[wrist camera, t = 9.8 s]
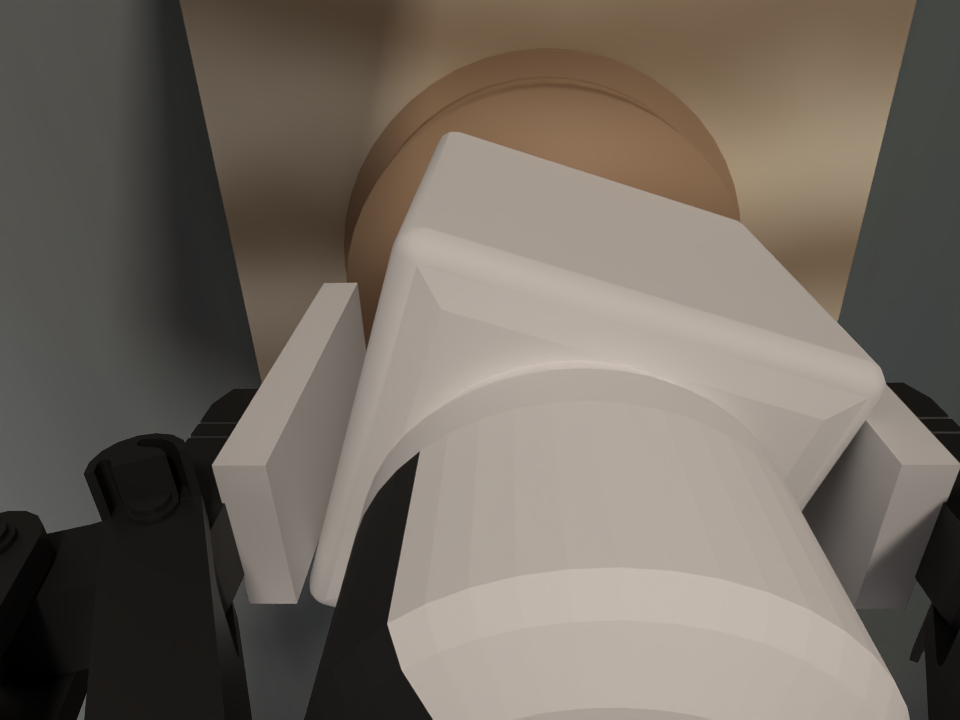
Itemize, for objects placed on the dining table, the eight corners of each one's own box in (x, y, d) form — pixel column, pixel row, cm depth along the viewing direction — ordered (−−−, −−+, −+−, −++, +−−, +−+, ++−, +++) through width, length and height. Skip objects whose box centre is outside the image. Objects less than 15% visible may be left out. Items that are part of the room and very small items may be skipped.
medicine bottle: (624, 460, 19) (769, 1062, 8) (372, 392, 18) (183, 961, 8) (747, 220, 15) (1251, 726, 5) (443, 123, 15) (279, 478, 4)
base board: (176, -95, 17) (89, -115, 13) (924, -125, 16) (1040, -155, 13) (293, 480, 26) (260, 559, 22) (784, 480, 25) (829, 561, 21)
